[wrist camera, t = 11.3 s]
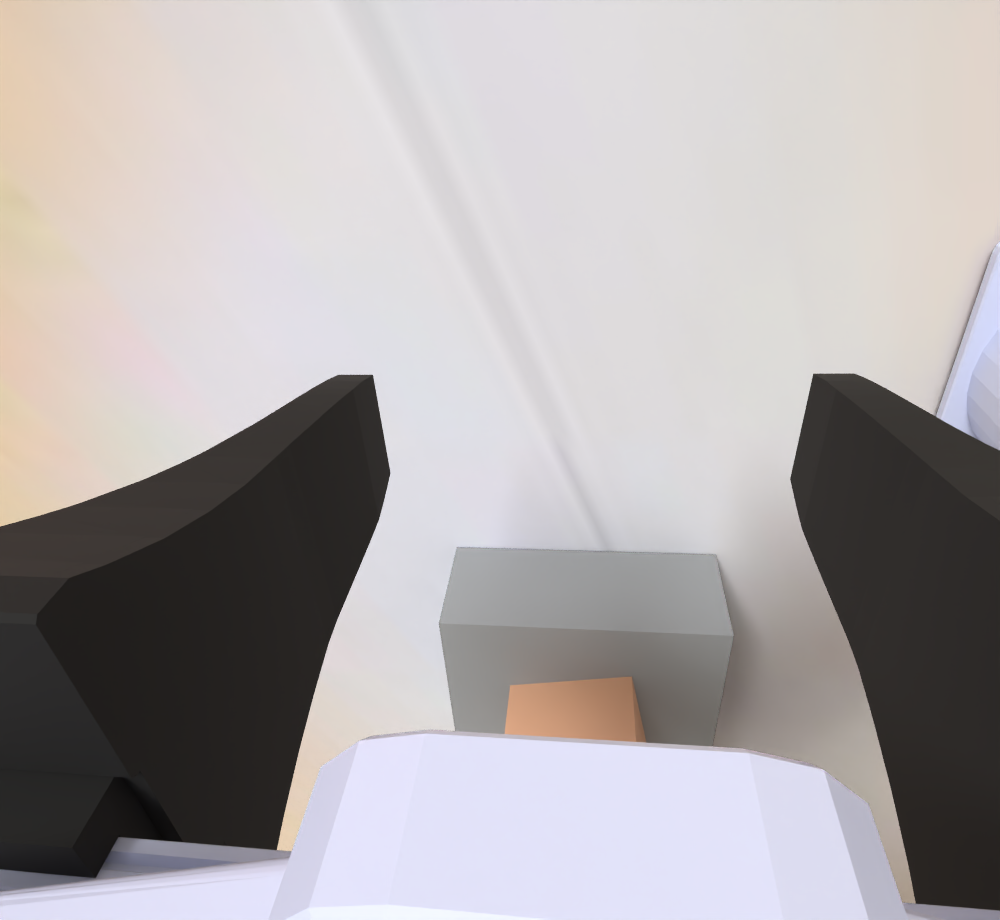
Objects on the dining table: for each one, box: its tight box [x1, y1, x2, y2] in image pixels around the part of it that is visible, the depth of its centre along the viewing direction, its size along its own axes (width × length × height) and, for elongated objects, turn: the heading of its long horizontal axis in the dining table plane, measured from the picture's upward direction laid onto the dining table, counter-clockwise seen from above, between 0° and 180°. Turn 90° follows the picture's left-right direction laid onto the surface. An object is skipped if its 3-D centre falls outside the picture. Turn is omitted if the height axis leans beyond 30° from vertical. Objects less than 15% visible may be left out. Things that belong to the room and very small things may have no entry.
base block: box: [439, 547, 734, 747], centre depth 28 cm, size 10×10×4 cm
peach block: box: [505, 676, 646, 743], centre depth 25 cm, size 4×4×4 cm
